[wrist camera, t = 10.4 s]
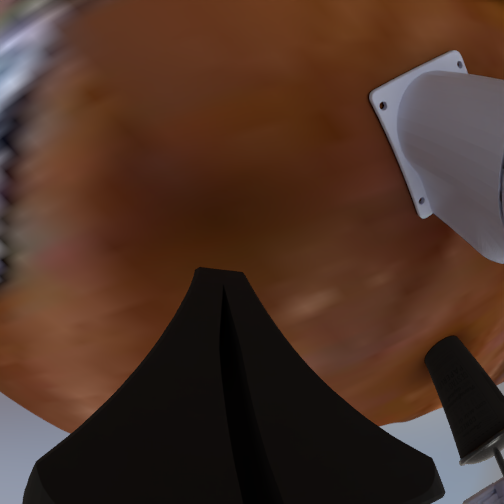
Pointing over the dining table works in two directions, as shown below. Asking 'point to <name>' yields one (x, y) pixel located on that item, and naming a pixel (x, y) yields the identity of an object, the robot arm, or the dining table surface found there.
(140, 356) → the dining table surface
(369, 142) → the dining table surface
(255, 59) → the dining table surface
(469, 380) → the drinking cup
